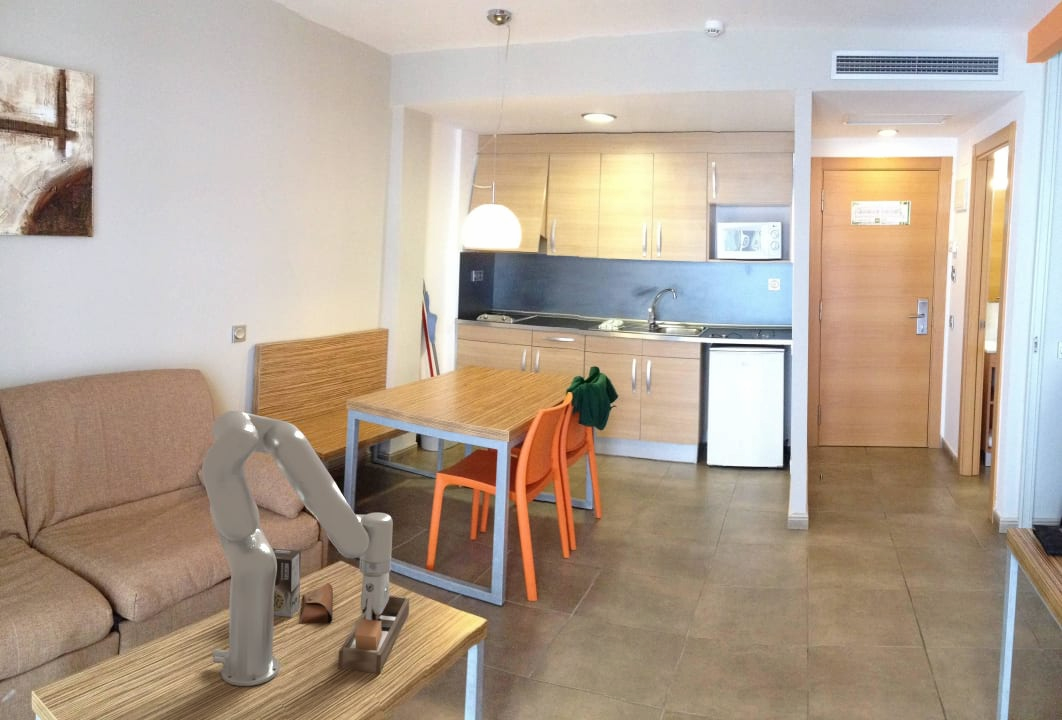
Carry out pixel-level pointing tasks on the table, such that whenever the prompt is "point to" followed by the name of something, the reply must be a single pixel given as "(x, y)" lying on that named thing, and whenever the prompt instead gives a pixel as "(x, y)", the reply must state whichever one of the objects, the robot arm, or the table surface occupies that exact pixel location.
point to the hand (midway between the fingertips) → (372, 634)
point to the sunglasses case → (318, 606)
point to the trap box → (391, 628)
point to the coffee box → (287, 582)
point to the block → (368, 634)
